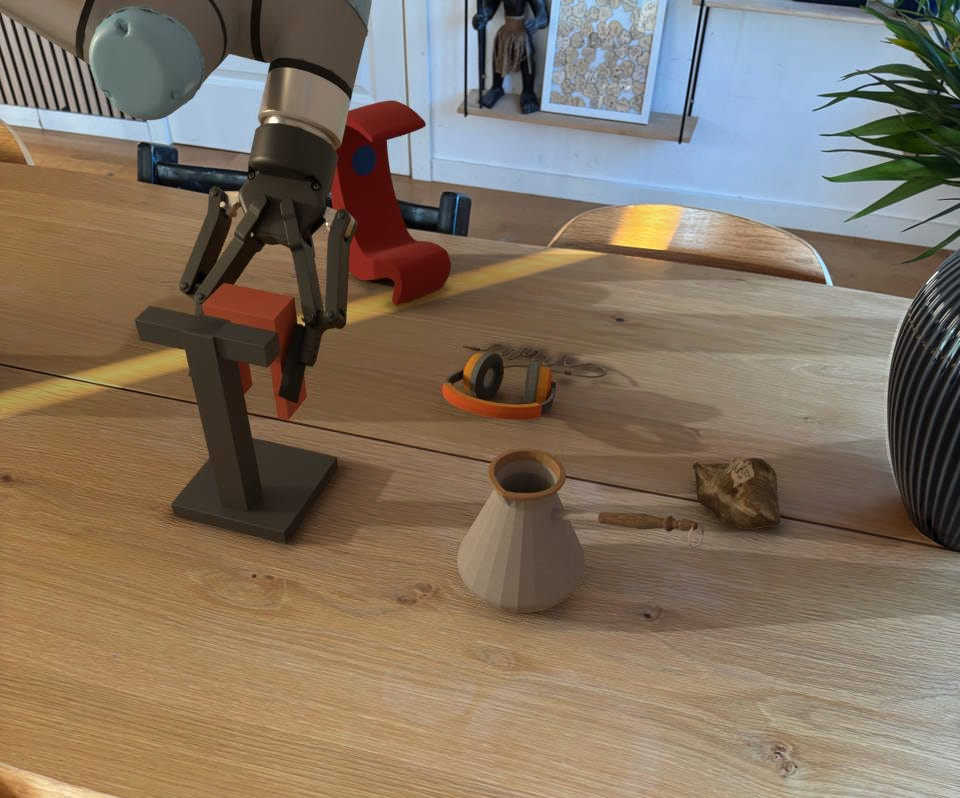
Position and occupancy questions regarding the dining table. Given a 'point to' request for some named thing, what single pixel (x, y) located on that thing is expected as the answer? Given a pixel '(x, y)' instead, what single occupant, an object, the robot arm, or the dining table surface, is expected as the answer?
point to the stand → (236, 432)
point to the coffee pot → (534, 535)
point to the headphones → (486, 380)
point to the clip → (263, 314)
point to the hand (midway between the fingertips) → (243, 389)
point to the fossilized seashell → (739, 492)
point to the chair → (383, 205)
